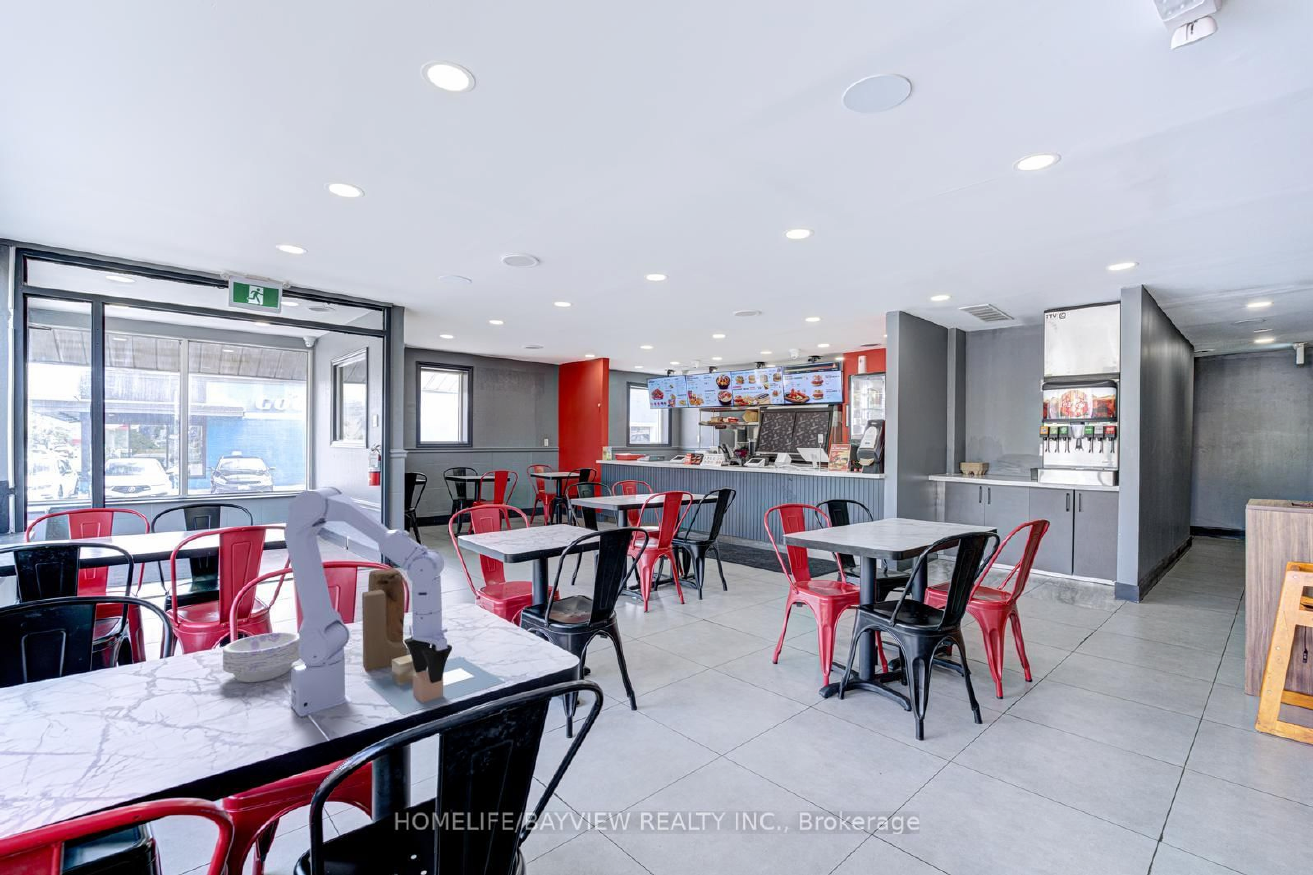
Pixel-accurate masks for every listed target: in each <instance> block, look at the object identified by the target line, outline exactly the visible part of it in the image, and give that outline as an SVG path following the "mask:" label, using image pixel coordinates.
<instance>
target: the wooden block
mask: <svg viewBox="0 0 1313 875" xmlns="http://www.w3.org/2000/svg"><path fill="white" fill-rule="evenodd" d="M361 598H362V599H361V600H362V601H361V602H362V603H361V607H362V608H361V609H362V661H363V662H362V667H363V669H364V670H365V672H369V671H370V672H371V671H375V670H380V669H384V668H390V667H392V659H395V658H399V657H403V656H407V655H408V647H407V645H406V644H405V642H404V641H403V642H391V641H389V640H388V638H387V635H386V594H385V592H384V591H383V590H376V591H363V592H362V593H361Z"/></svg>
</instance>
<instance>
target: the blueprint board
mask: <svg viewBox="0 0 1313 875" xmlns="http://www.w3.org/2000/svg"><path fill="white" fill-rule="evenodd" d="M427 670H428V667H427ZM427 670H426V671H427ZM422 672H423V671H422ZM505 683H506V681H504V680H502V679H500V677H499V678H498V677H497V676H495V675H494V674H492V673H490V672H489V671H486V670H485V669H483V668H482V667H480V666H478V665H476V664H474V663H473V662H471V661H469V660H467V659H465V658H464V657H463V656H457V657H454V658H450V659H447V661H446V664H445V668H444V672H443V696H442V697H439V698H435V699H432V700H429V701H426V702H423V703H422V702H420V701H419V700H418V699H416V698H415V697H414V696H413V682H410V683H407V684H403V685H398V684H397V683H396V682H394V681H393V680H392V674H391V675H387V676H386V675H385V676H384V677H383V676H382V677H380V678H379V677H378V678H375V679H371V680H369V681H368V680H367V681H365V684H366V685H368V686H369V687H370V688H371V689H372V690H374V691H375V693H377V694H378V695H379V696H381V697H382V698H383V699H384V700H386V702H387V703H388V704H390V705H391V706H392V707H393V708H394V709H396V711H398V712H399V713H400V714H401V715H402V716H404V715H407V714H411V713H413V712H417V711H420V710H424V709H426V708H429V707H432V706H435V705H438V704H442V703H445V702H449V701H451V700H455V699H458V698H461V697H465V696H468V695H469V694H470V695H471V694H475V693H476V692H480V691H483V690H485V689H486V690H487V689H489V688H492V687H496V686H498V685H502V684H505Z"/></svg>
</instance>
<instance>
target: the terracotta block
mask: <svg viewBox="0 0 1313 875" xmlns="http://www.w3.org/2000/svg"><path fill="white" fill-rule="evenodd" d="M413 696H414V697H415V698H416V699H418V700H419V701H420V702H422V703H423V702H426V701H429V700H432V699H435V698H439V697H442V696H443V676H442V680H441V681H438V682H435V683H431V682H430V679H429V674H428V670H427V671H423V672H420V673H416V674H413Z"/></svg>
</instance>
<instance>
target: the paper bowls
mask: <svg viewBox="0 0 1313 875" xmlns="http://www.w3.org/2000/svg"><path fill="white" fill-rule="evenodd" d="M299 642H300V637H299V633H296V632H288V631H283V632H282V631H281V632H280V631H278V632H277V631H276V632H269V633H260V634H256V635H250V636H247V637H243V638H240V639H236V640H234V641H232V642H230V643H227V644H226V645H224V647H223V648H222V670H223V671H224V672H226V673H229V674H233V676H234V677H235V679H236V680H237V681H238V682H244V683H258V682H265V681H269V680H274V679H276V678H279V677H281V676H282V675H285V674H286V673H288V672H289V671H290V669H291V667H292V664H294V663H295V662H297V661H299V660H301V659H300V657H299V654H298V646H299Z"/></svg>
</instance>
